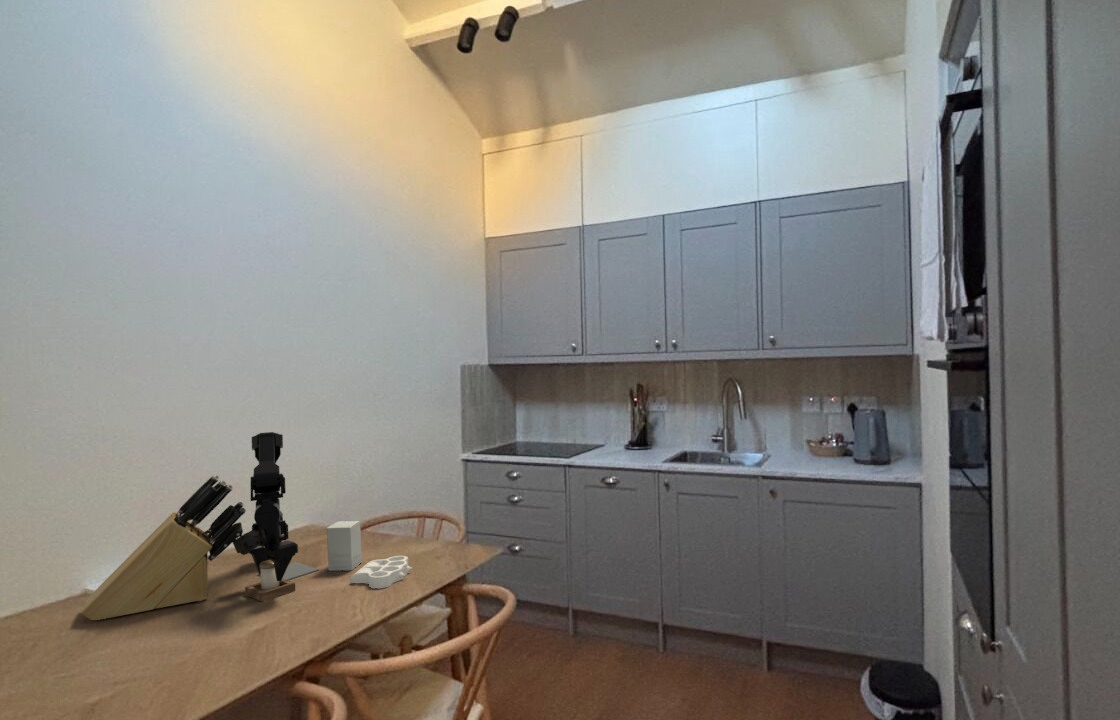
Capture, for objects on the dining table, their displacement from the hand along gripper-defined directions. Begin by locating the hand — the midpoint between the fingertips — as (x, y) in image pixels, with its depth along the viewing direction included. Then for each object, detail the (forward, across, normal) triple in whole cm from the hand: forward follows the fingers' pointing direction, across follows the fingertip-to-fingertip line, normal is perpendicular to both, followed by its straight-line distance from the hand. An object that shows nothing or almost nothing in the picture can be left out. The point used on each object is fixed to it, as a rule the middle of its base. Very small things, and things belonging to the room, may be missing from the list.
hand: (270, 577), depth 161 cm
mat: (+4, -11, +11) cm, 16 cm away
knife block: (+4, -17, -17) cm, 25 cm away
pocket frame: (+4, 0, 0) cm, 4 cm away
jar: (+4, 0, 0) cm, 4 cm away
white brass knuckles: (+5, +16, +24) cm, 29 cm away
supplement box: (+4, -1, +23) cm, 23 cm away
